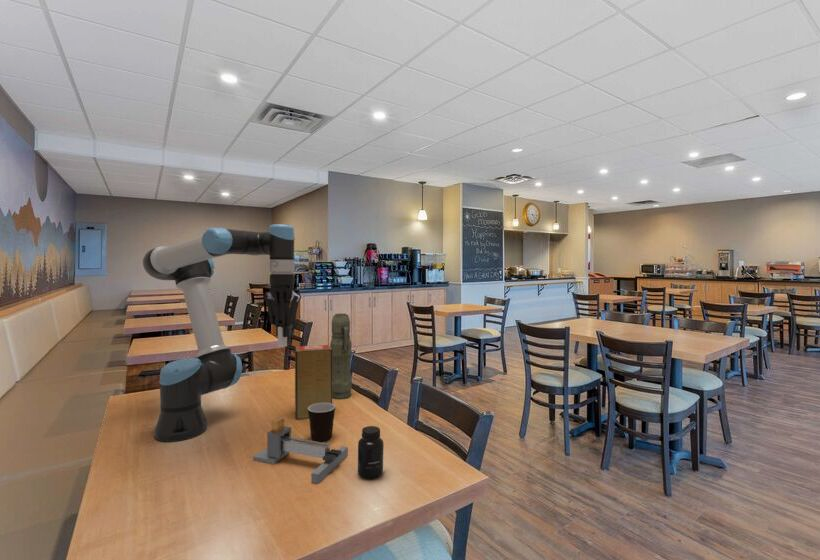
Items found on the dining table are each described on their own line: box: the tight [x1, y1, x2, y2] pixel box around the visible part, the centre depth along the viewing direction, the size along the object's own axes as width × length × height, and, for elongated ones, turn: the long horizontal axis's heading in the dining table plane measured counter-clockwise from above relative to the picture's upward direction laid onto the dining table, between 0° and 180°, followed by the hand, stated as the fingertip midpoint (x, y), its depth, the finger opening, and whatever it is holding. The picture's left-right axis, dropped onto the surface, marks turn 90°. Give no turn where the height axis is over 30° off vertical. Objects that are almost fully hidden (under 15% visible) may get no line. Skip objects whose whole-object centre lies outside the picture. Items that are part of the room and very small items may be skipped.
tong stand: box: [252, 445, 349, 485], centre depth 111 cm, size 24×16×7 cm, turn 71°
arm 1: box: [281, 438, 336, 462], centre depth 109 cm, size 19×2×3 cm, turn 72°
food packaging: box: [294, 344, 333, 420], centre depth 147 cm, size 13×9×25 cm
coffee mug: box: [308, 403, 336, 443], centre depth 128 cm, size 12×9×10 cm
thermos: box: [329, 313, 352, 400], centre depth 167 cm, size 9×12×35 cm
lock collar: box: [266, 416, 292, 460], centre depth 113 cm, size 4×5×10 cm
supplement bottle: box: [357, 425, 385, 480], centre depth 105 cm, size 7×7×12 cm
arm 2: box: [281, 435, 342, 457], centre depth 111 cm, size 19×2×3 cm, turn 71°
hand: (282, 346), depth 126 cm, fingers closed
